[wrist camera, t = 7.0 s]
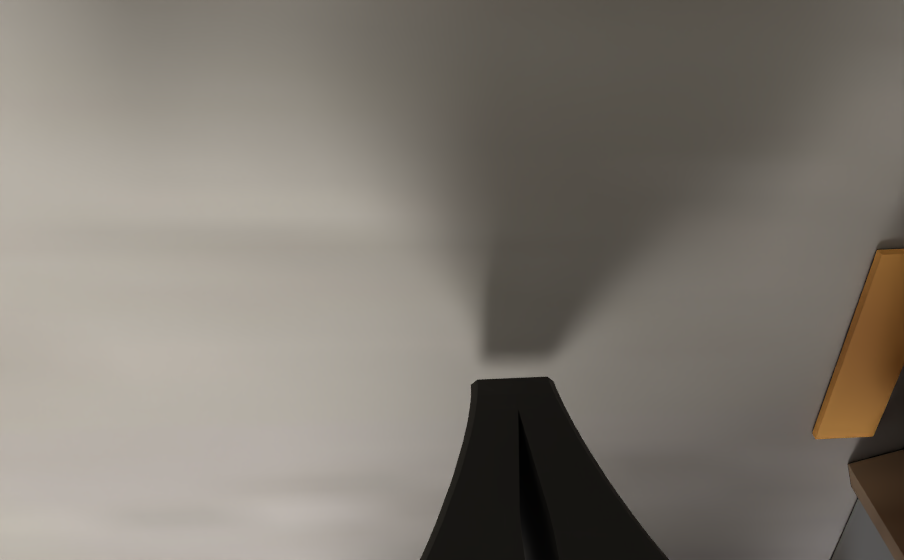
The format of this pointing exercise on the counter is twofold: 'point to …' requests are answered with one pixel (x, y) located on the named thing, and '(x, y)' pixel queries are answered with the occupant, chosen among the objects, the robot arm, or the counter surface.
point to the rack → (871, 412)
